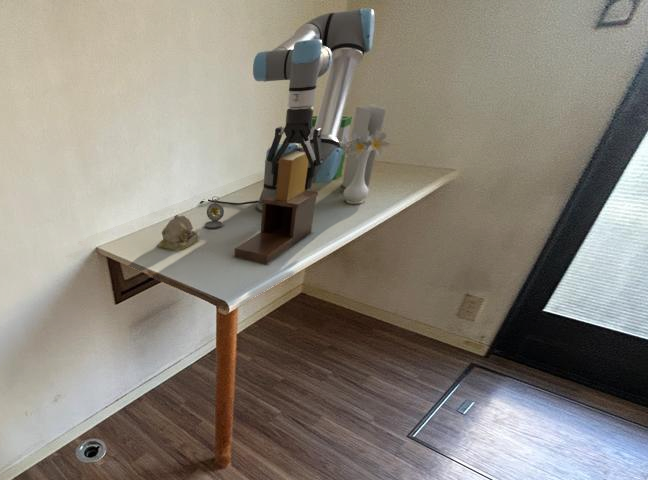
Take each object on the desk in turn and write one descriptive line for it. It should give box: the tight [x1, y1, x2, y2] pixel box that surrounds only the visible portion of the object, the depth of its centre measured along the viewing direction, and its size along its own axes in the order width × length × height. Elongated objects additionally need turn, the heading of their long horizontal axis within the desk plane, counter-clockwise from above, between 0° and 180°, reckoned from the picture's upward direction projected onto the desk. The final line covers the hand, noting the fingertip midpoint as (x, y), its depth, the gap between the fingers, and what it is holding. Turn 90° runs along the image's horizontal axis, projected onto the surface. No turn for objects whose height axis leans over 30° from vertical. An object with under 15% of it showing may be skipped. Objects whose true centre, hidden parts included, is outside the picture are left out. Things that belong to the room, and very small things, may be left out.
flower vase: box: [339, 130, 390, 205], centre depth 159 cm, size 13×18×25 cm
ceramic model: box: [158, 214, 199, 251], centre depth 147 cm, size 14×11×10 cm
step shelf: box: [234, 189, 319, 266], centre depth 137 cm, size 13×30×14 cm, turn 137°
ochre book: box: [276, 151, 308, 201], centre depth 133 cm, size 4×12×12 cm, turn 137°
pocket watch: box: [204, 196, 225, 229], centre depth 158 cm, size 8×8×10 cm
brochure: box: [341, 103, 387, 189], centre depth 170 cm, size 14×6×30 cm, turn 179°
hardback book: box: [301, 115, 353, 180], centre depth 191 cm, size 18×7×24 cm, turn 50°
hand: (291, 186), depth 135 cm, fingers open, 11 cm apart
